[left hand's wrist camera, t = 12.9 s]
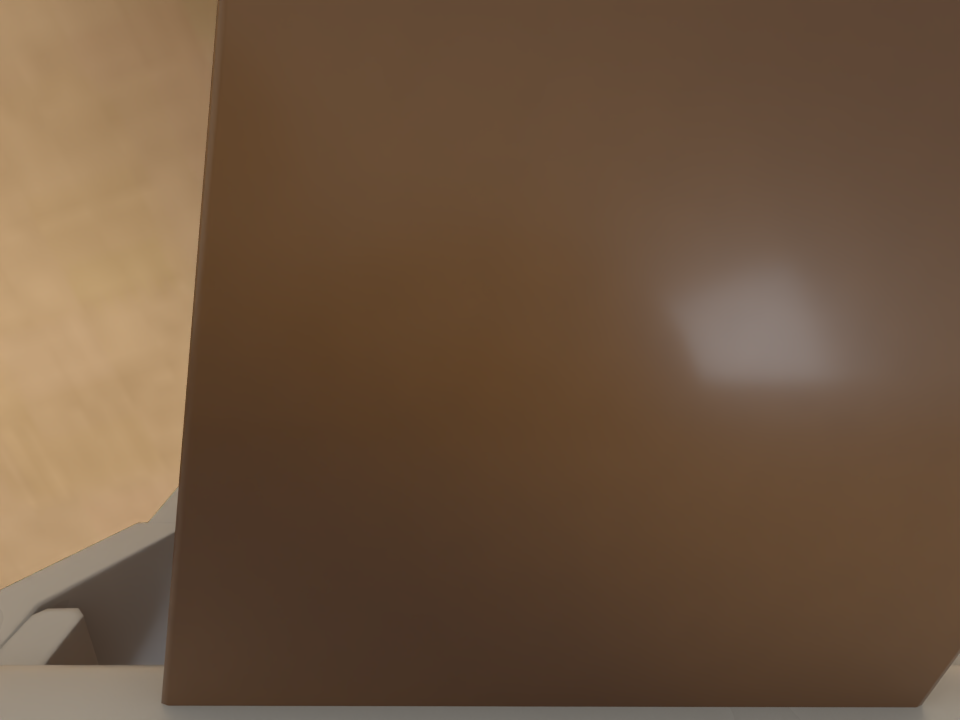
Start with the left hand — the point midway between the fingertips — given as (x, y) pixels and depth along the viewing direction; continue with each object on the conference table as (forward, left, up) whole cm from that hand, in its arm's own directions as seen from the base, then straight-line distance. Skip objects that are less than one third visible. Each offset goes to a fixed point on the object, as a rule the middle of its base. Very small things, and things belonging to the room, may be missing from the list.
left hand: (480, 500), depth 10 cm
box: (+6, +4, -6) cm, 9 cm away
